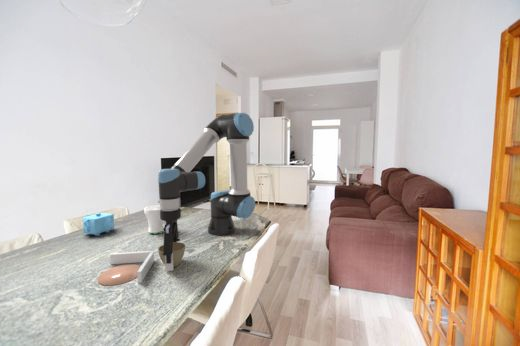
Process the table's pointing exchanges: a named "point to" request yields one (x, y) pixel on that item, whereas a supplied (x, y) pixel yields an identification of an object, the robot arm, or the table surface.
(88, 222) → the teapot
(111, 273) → the coaster
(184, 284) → the table surface
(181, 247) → the flower pot
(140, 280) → the acrylic walls
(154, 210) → the cup
